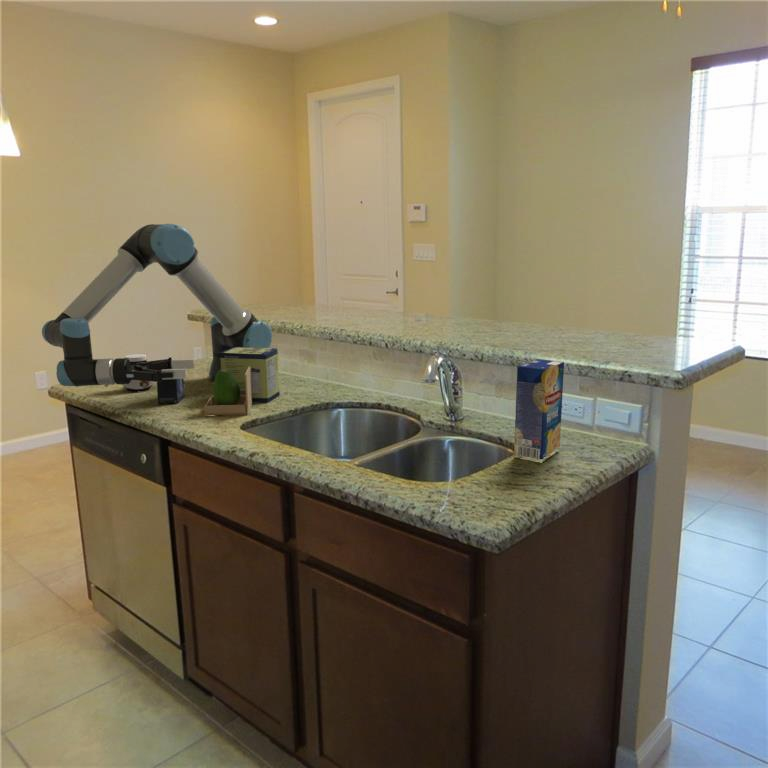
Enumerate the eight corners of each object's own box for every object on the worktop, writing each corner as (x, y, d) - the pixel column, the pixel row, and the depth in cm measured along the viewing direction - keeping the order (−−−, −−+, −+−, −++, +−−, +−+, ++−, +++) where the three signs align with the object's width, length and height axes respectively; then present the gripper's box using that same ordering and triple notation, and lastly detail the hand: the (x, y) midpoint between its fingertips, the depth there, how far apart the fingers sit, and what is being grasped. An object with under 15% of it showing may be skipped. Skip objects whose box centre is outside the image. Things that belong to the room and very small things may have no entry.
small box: (178, 404, 218) (176, 370, 216) (157, 404, 217) (154, 371, 215) (186, 396, 228) (183, 364, 226) (165, 396, 228) (163, 364, 225)
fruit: (246, 407, 211) (244, 367, 208) (228, 413, 204) (226, 372, 202) (226, 404, 215) (224, 365, 212) (208, 409, 208) (205, 370, 206)
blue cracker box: (559, 451, 170) (564, 361, 165) (541, 463, 162) (545, 369, 157) (533, 446, 174) (537, 358, 169) (513, 458, 165) (517, 366, 161)
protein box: (235, 393, 231) (232, 346, 228) (280, 395, 228) (278, 348, 225) (221, 401, 221) (218, 352, 218) (268, 403, 218) (266, 353, 215)
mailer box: (210, 406, 215) (208, 367, 212) (252, 405, 216) (250, 366, 213) (205, 416, 203) (202, 375, 201) (248, 415, 205) (246, 374, 202)
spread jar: (125, 394, 231) (122, 359, 229) (118, 387, 241) (115, 353, 238) (162, 389, 237) (159, 355, 235) (154, 383, 247) (151, 350, 244)
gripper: (127, 374, 217) (197, 372, 219) (103, 394, 193) (183, 391, 194) (125, 350, 215) (195, 348, 217) (100, 367, 191) (180, 364, 193)
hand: (190, 368), depth 206 cm, fingers open, 13 cm apart
